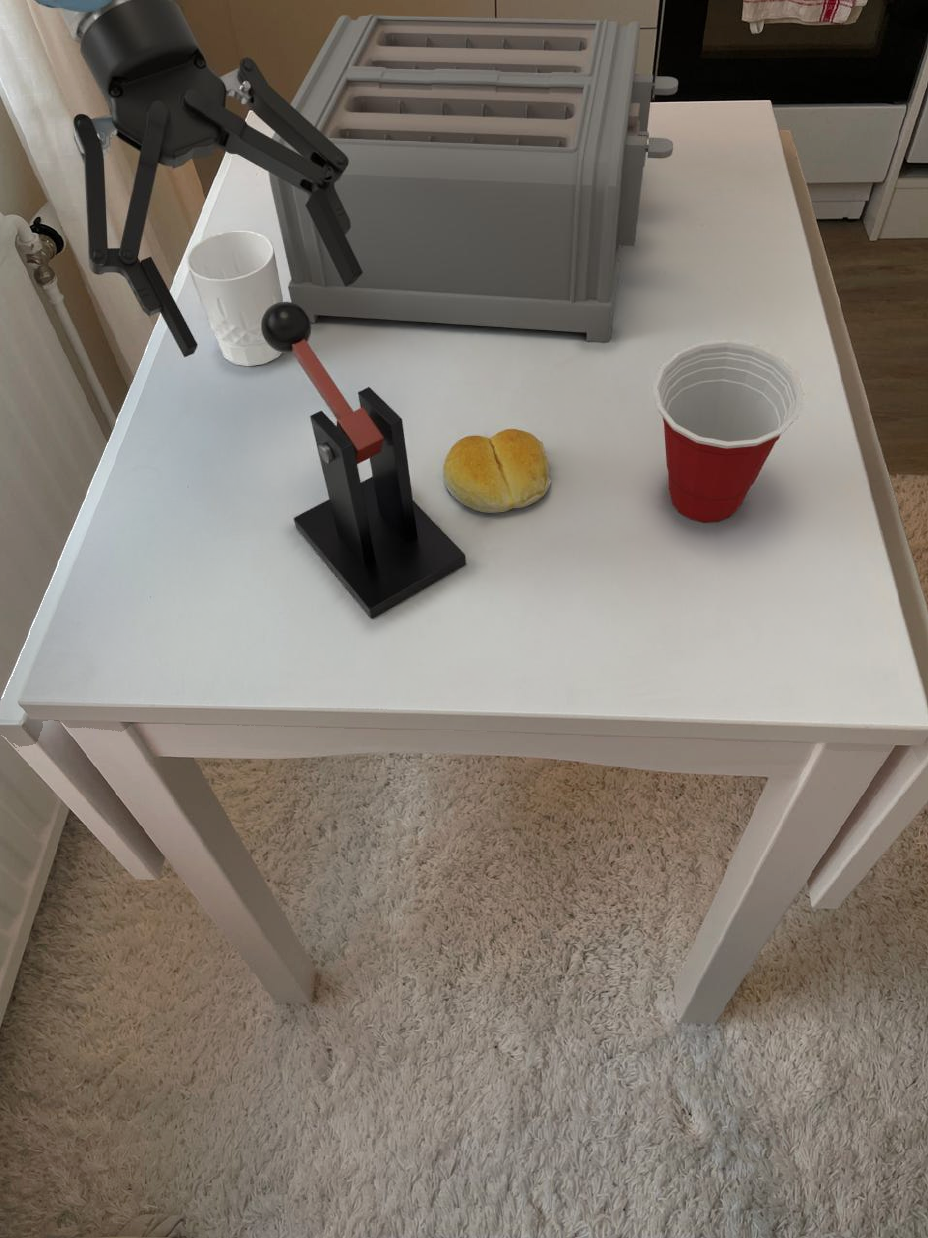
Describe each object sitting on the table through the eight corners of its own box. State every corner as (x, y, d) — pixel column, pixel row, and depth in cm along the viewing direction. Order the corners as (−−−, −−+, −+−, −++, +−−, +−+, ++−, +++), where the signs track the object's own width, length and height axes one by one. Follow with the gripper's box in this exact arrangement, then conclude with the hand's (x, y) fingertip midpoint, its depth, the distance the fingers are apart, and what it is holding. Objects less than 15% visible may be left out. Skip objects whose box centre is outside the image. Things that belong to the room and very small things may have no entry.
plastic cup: (615, 518, 79) (628, 406, 69) (670, 437, 84) (689, 323, 74) (740, 568, 75) (773, 457, 65) (790, 480, 80) (826, 365, 70)
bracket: (295, 527, 80) (258, 399, 69) (386, 479, 82) (364, 348, 71) (371, 619, 74) (344, 495, 62) (466, 564, 76) (456, 436, 65)
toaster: (649, 345, 91) (673, 169, 77) (293, 321, 96) (255, 151, 82) (664, 175, 109) (685, 7, 95) (362, 162, 114) (340, 0, 100)
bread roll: (438, 457, 84) (434, 422, 81) (538, 441, 84) (538, 406, 81) (452, 525, 79) (449, 491, 76) (558, 508, 79) (560, 474, 76)
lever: (252, 331, 71) (251, 303, 68) (294, 313, 72) (295, 283, 69) (346, 473, 69) (350, 451, 66) (387, 452, 70) (393, 429, 67)
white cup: (311, 340, 94) (291, 248, 86) (252, 381, 91) (225, 291, 83) (257, 310, 98) (234, 220, 90) (198, 350, 94) (168, 259, 86)
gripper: (-60, 50, 58) (118, 372, 63) (296, -58, 66) (433, 235, 70) (-44, 107, 65) (115, 393, 70) (276, 3, 73) (401, 267, 77)
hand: (275, 315), depth 70 cm, fingers open, 13 cm apart
